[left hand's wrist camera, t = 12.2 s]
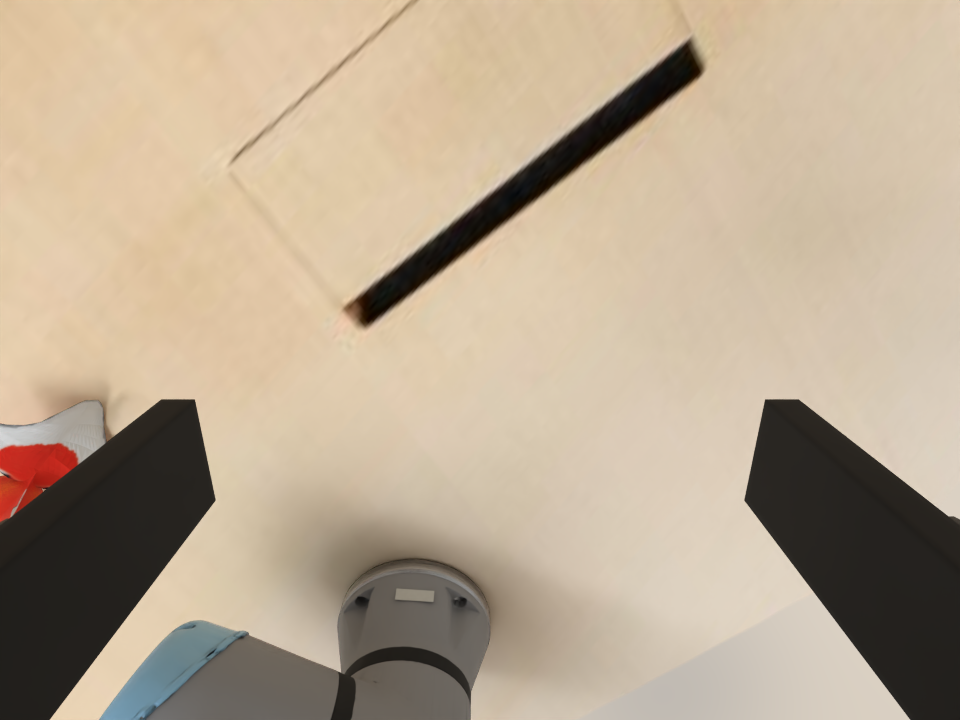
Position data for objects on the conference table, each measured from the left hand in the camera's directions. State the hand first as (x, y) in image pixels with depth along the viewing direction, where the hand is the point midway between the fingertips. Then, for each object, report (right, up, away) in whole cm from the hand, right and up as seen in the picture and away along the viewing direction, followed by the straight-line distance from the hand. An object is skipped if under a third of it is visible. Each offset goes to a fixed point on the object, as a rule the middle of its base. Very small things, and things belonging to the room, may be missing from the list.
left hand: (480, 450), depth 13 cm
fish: (-38, -6, +36) cm, 53 cm away
